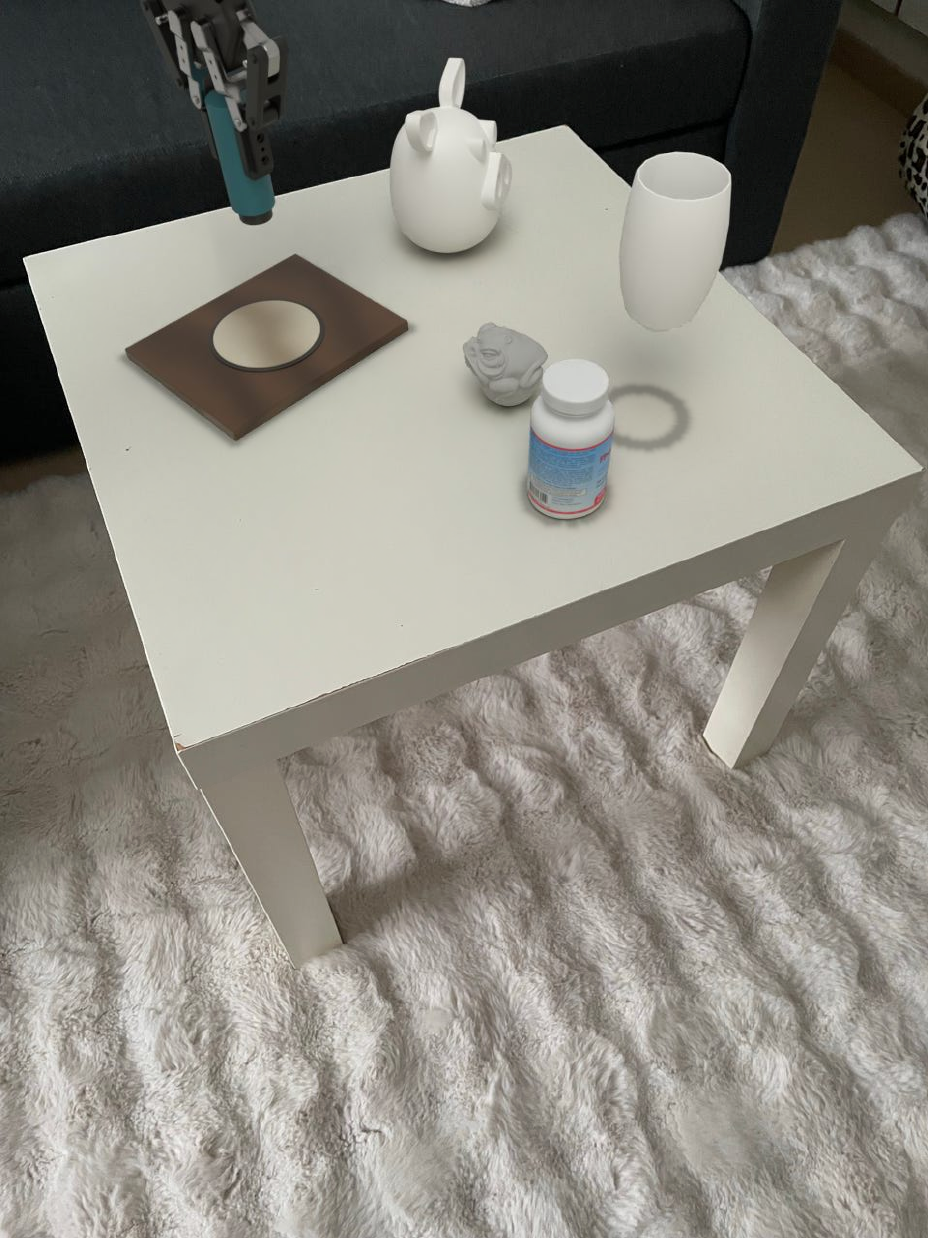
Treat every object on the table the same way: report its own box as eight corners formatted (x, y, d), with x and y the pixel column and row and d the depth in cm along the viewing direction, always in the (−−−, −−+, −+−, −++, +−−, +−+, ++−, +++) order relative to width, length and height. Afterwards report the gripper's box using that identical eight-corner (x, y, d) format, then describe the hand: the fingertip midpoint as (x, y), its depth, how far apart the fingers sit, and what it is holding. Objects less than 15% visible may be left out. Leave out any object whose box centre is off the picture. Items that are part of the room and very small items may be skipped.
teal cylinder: (252, 233, 70) (223, 113, 63) (225, 217, 72) (194, 97, 65) (286, 215, 72) (262, 94, 64) (260, 199, 73) (233, 79, 66)
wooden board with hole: (235, 441, 77) (232, 430, 76) (127, 357, 83) (123, 346, 82) (408, 329, 85) (407, 318, 84) (297, 261, 91) (295, 250, 90)
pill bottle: (613, 516, 71) (631, 402, 62) (535, 527, 70) (542, 414, 61) (593, 461, 74) (608, 346, 65) (519, 471, 74) (523, 357, 65)
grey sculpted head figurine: (461, 378, 80) (459, 310, 75) (540, 372, 81) (544, 303, 75) (467, 426, 77) (465, 358, 71) (550, 419, 77) (555, 351, 71)
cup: (626, 458, 74) (666, 216, 57) (582, 404, 78) (607, 163, 61) (702, 430, 76) (762, 188, 59) (655, 378, 80) (699, 137, 63)
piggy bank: (512, 276, 89) (515, 117, 77) (391, 277, 89) (376, 120, 77) (509, 205, 96) (512, 50, 84) (398, 207, 97) (384, 53, 85)
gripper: (60, -128, 56) (148, 152, 70) (196, -73, 50) (263, 222, 64) (162, -160, 59) (227, 115, 73) (302, -112, 53) (344, 178, 67)
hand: (243, 164), depth 68 cm, fingers closed on teal cylinder, 3 cm apart
